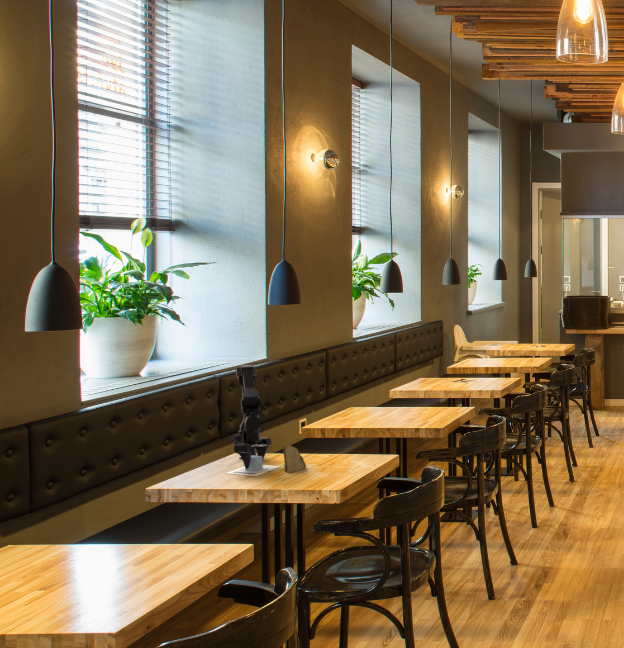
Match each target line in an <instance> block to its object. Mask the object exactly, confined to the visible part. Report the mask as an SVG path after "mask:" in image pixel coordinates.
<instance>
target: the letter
mask: <svg viewBox="0 0 624 648" xmlns="http://www.w3.org/2000/svg"><path fill="white" fill-rule="evenodd" d="M279 468H282V466H280V465H278V466H277V465H269V464H263V469H261V470H258V471H246V470H245V466H243V467H239V468H236V469H234V470H231V471H228V472H225V474H227V475H238V476H239V475H240V476H252V477H253V476H254V477H257V476H260V475H262V474H265V473H268V472H271V471H275V470H277V469H279Z"/></svg>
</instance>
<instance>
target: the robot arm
mask: <svg viewBox="0 0 624 648" xmlns="http://www.w3.org/2000/svg"><path fill="white" fill-rule="evenodd" d="M257 372H258V371H257V366H254V365H253V364H250V365H249V364H247V365H245V364H244V365H238V367H236V368H235V376H236V377H237V380H238V382H239V384H240V386H241V396H242V398H240V407H241V414H242V421H241V423H240V425H239V430H238V434H237V433H234V434H233V433H232V434H231V435H230V442H231V443H232V444H234V445H233V452H235V453H236V454H237V455H239V456H240V457H239V458H238V459H241V461H242V462H243V466H244V467H245V468H246V469H248V468H249V465H250V460H251V455H253V456H262V462H263V461H264V458H265V456H266V453H267V452H268V449H269V448H270V446H271V445H272V439H271V438H270V437H268V436H267V437H266V436H265V437H263V436H261V432H262V428H261V426H262V424H261V423H262V421H261V419H260V417H259V416H260V415H259V414H262V411H264V407H263V400H262V398H261V397H260V396H259V392H258V391H257V390H256V388H255V383H254V382H255V380H256V376H257V375H258V374H257Z"/></svg>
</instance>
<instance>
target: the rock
mask: <svg viewBox="0 0 624 648" xmlns="http://www.w3.org/2000/svg"><path fill="white" fill-rule="evenodd" d="M303 457H304V456H302V455H301V453H300V452H299V450H298V448H297V447H295V446H292V445H289V444H288V445H284V446H283V458H284V464H283V465H284V467H283V468H284V472H285V473H286V474H291V473H295V472H298V471H300V470H301V471H302V470H303V469H306V468H307V464H306V462H305V459H304V458H303Z"/></svg>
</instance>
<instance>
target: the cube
mask: <svg viewBox="0 0 624 648" xmlns="http://www.w3.org/2000/svg"><path fill="white" fill-rule="evenodd" d="M263 465H264V464H263V461H262V456H253V455H251V460H250V465H249V468H248V469H246V468H245V470H246V471H258V470H261V469H263Z"/></svg>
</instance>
